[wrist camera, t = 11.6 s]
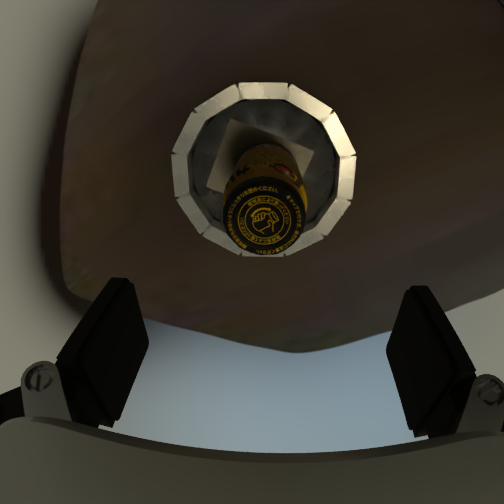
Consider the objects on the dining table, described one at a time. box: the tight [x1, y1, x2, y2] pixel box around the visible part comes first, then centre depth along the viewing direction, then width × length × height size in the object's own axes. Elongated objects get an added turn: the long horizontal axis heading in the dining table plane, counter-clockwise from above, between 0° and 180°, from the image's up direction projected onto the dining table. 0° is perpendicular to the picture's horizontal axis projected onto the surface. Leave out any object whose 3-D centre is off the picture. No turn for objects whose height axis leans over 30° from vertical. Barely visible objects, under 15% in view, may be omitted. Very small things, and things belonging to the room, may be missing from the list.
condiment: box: [206, 119, 315, 255], centre depth 24 cm, size 7×8×12 cm
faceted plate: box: [171, 83, 356, 257], centre depth 29 cm, size 17×17×2 cm
